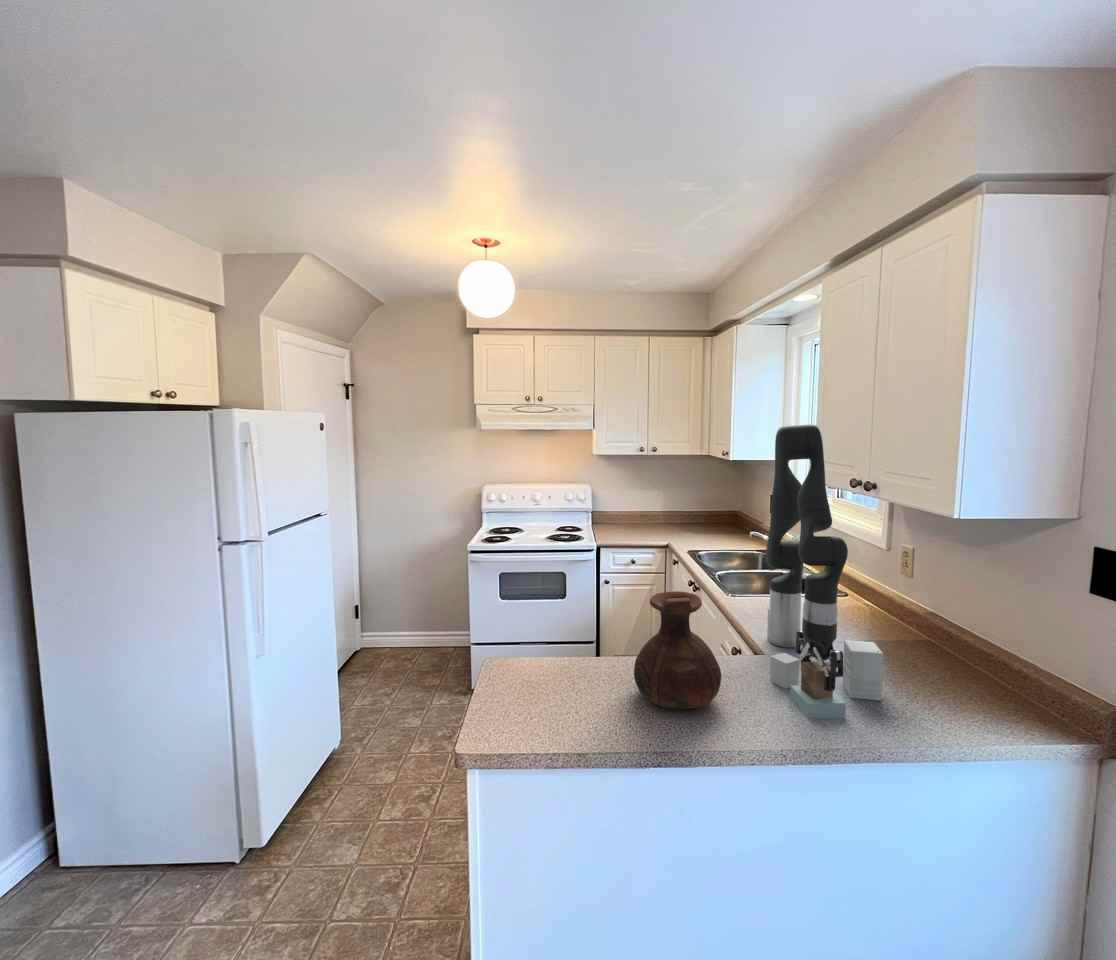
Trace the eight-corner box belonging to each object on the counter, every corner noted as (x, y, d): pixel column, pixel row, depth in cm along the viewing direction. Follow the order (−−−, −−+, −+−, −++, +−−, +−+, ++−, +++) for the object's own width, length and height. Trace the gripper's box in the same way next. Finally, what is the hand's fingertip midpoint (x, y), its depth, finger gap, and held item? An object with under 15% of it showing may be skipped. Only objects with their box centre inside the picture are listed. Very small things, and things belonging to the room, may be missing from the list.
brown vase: (615, 696, 136) (615, 583, 133) (668, 671, 149) (669, 568, 146) (685, 733, 119) (687, 605, 116) (737, 701, 133) (740, 585, 130)
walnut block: (800, 689, 131) (802, 662, 130) (818, 686, 132) (819, 660, 131) (814, 699, 126) (815, 671, 125) (832, 697, 127) (834, 669, 126)
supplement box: (872, 687, 139) (875, 641, 137) (881, 702, 132) (884, 653, 130) (841, 684, 141) (843, 638, 139) (848, 698, 134) (851, 650, 132)
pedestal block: (789, 700, 134) (790, 685, 133) (824, 699, 134) (825, 684, 133) (807, 720, 125) (808, 704, 124) (844, 719, 125) (845, 703, 124)
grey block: (770, 680, 143) (770, 656, 142) (783, 676, 145) (784, 652, 145) (785, 689, 139) (786, 663, 138) (798, 684, 141) (799, 659, 140)
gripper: (787, 609, 133) (785, 670, 135) (826, 630, 119) (823, 698, 121) (814, 606, 135) (811, 667, 136) (855, 627, 121) (852, 694, 122)
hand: (817, 681), depth 129 cm, fingers open, 8 cm apart
